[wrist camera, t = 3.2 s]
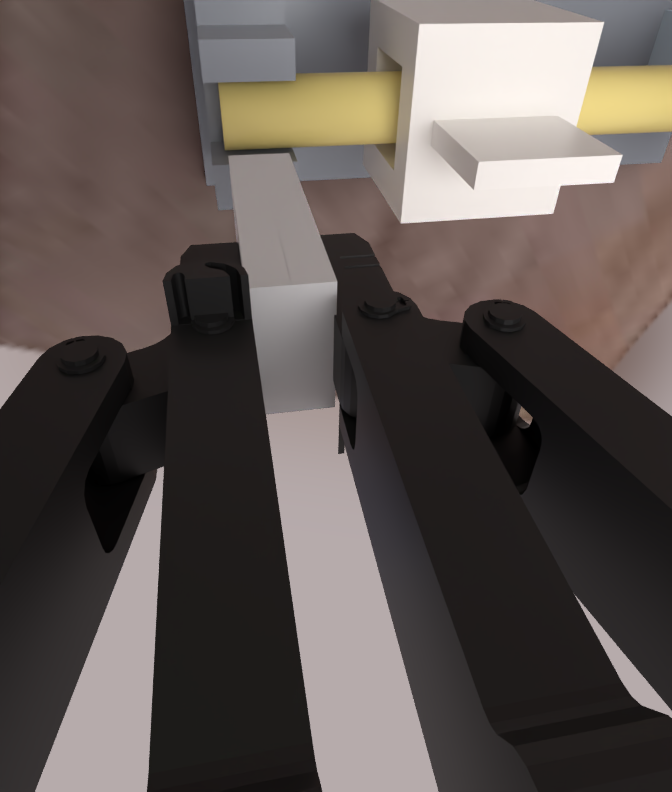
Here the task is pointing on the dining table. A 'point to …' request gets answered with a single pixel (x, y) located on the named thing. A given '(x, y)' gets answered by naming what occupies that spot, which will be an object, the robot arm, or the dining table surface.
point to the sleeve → (484, 107)
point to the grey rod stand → (387, 83)
